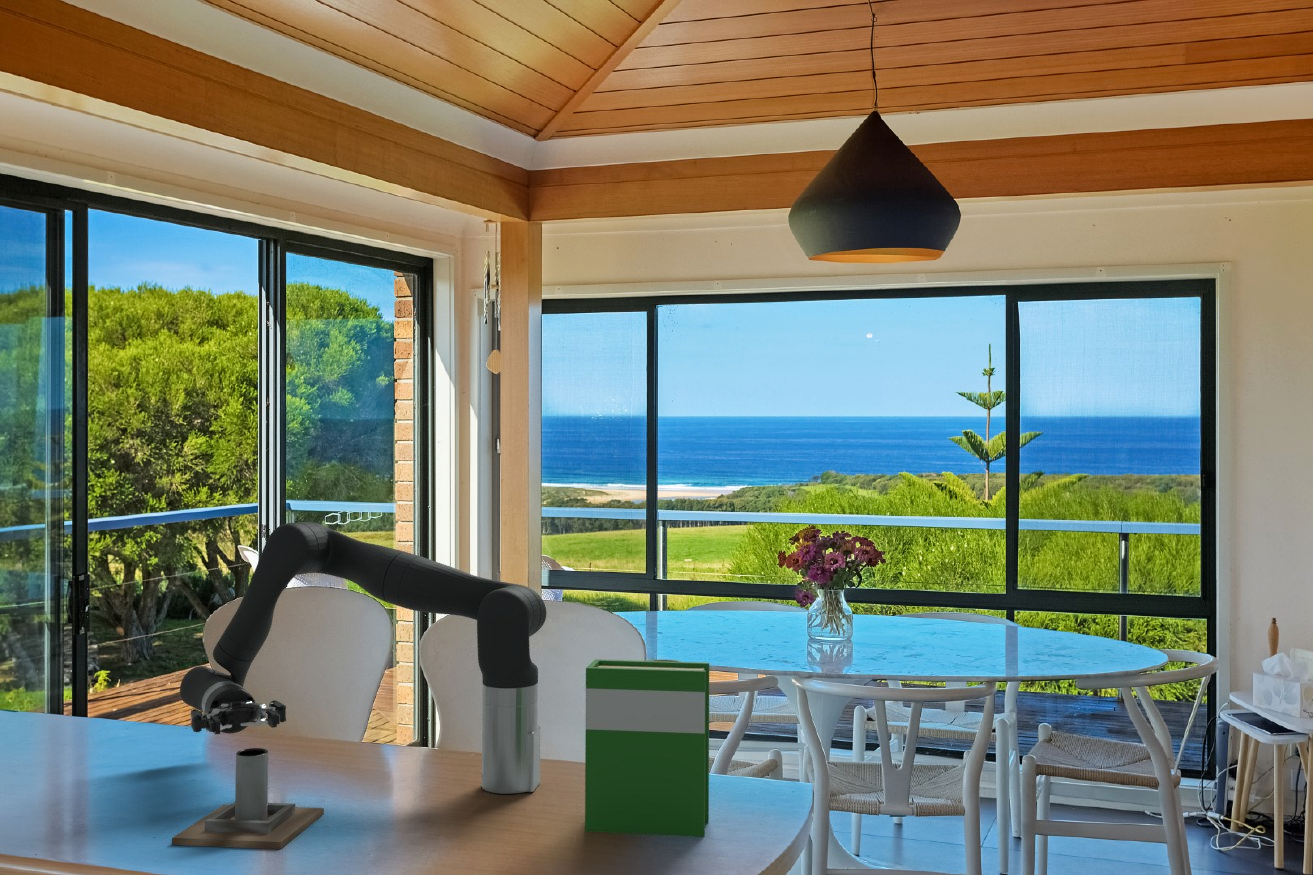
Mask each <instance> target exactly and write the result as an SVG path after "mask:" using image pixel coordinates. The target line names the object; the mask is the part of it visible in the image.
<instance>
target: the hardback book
mask: <svg viewBox="0 0 1313 875" xmlns="http://www.w3.org/2000/svg"><path fill="white" fill-rule="evenodd" d="M584 737H585V740H584V742H585V744H584V746H585V748H584V749H585V750H584V752H585V760H584V762H585V764H584V765H585V768H584V775H585V776H584V778H585V779H584V781H585V782H584V783H585V784H584V795H585V796H584V832H591V833H593V832H594V833H612V834H631V835H632V834H635V835H636V834H637V835H651V836H652V835H653V836H654V835H656V836H674V837H675V836H676V837H677V836H678V837H696V838H697V837H698V838H699V837H701V838H705V835H706V824H709V821H710V820H709V819H710V818H709V816H710V814H709V810H710V808H709V807H710V800H709V799H710V774H709V773H710V662H699V661H697V662H696V661H681V662H668V661H647V660H631V659H630V660H629V659H628V660H624V659H623V660H622V659H594V660H592V662H590V664H588V665H587V666H586V667H585V736H584Z"/></svg>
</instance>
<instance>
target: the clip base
mask: <svg viewBox="0 0 1313 875" xmlns="http://www.w3.org/2000/svg"><path fill="white" fill-rule="evenodd" d="M324 814H325V808H324V807H306V806H303V807H302V806H296V803H289V802H288V803H284V802H283V803H282V802H281V803H280V802H268V813H267V820H265V821H256V820H235V801H233V802H232V803H229V804H222V805H221V806H220V807H218V808H216V809H215V810H213V811H211V812H210V813H208V814H206V815H205V816H203V817H202V818H201V819H199V820H197V821H196V822H194V823H193V824H191V825H189V826H188V827H187V828H185V829H183V830H182V831H180V832H178V833H177V834H176V835H174V836H173V837H171V846H186V847H187V846H191V847H216V848H241V849H242V848H245V849H269V850H270V849H271V850H283V848H284V847H286V846H287V845H288V844H289V843H291V842H292V841H293V840H294V839H296V838H297V837H298V836H299V835H301V833H303V832H304V831H306V830H307V829H308V828H309V827H310V826H311V825H313V824H314V823H315V822H316V821H318V820H319V819H320V818H321V817H323V816H324Z"/></svg>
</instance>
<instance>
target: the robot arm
mask: <svg viewBox="0 0 1313 875" xmlns="http://www.w3.org/2000/svg"><path fill="white" fill-rule="evenodd" d="M266 540H267V541H266V542H265V545H264V547H263V549H262V552H261V554H260V557H259V559H258V562H257V565H256V567H255V568H254V572H253V574H252V576H251V579H250V582H249V584H248V586H247V588H246V591H245V594H244V596H243V598H242V600H241V601H240V603H239V606H238V607H237V609H236V611H235V613H234V614H233V617H232V618H231V620H230V622H229V623H228V625H227V627H226V628H225V629H224V631H223V632H222V634H221V636H220V638H219V640H218V642H216V644H215V646H214V648H213V651H212V657H213V660H214V661H215V662H216V663H217V665H219V667H221V668H223V669H224V670H225V671H227V672H228V673H229V674H227V673H224V672H220V671H218V670H216V669H213V668H211V667H207V666H203V665H198V666H194V667H192V668H191V669H190V670H188V671H187V672H186V673H185V674H184V676H183V678H182V680H181V682H180V684H179V685H180V687H179V695H180V699H181V700H182V702H183V704H186V705H187V706H189V707H192V708H193V709H191V710H190V727H191V729H192V731H193V732H194V733H201V732H202V729H205V731H206V732H209V733H213V734H214V735H221V733H222V734H229V735H231V734H237V733H241V732H242V731H243V730H245V729H247V727H249V726H253V727H254V726H256V727H260V726H263V725H268V726H269V727H270V728H272V729H275V728H277V727H278V725H280V724H281V723H285V722H287V712H286V711H287V710H286V709H287V705H285V704H284V703H282V702H281V701H278V700H275V699H274V700H270V701H269V703H268V704H269V705H267V706H266V703H262V702H256V701H255V699H254V697H253V695H252V694H251V693H249V691H247V690H246V689H245V688H244V685H245V681H246V677H247V674H248V672H249V670H250V667H251V665H252V663H253V661H254V660H255V659H256V657H257V655H258V653H259V652H260V650H261V648H262V647H263V645H264V643H265V642H266V639H267V637H268V636H269V634H270V631H271V628H272V625H273V618H274V614H275V613H274V612H275V608H276V606H277V602H278V600H279V598H280V596H281V594H282V592H284V590H285V588H286V587H287V586H288V584H290V582H291V581H292V580H293V579H294V578H295V577H296V576H297V575H298V576H299V575H304V574H305V575H306V574H323V575H328V576H332V577H337V578H341V579H344V580H348V581H349V582H352V583H354V584H356V585H357V586H358V587H360V588H361V589H363V590H364V591H365V593H366V592H367V593H368V594H370V595H371V597H373V598H376V599H378V600H380V601H383V602H385V603H387V604H392V605H394V606H398V607H400V608H403V609H407V610H411V611H416V612H423V613H431V614H438V615H450V616H451V615H452V616H457V617H460V616H461V617H464V618H469V619H472V620H475V621H476V638H477V662H478V667H479V670H480V671H481V674H482V675H481V676H482V680H481V681H482V686H481V687H482V691H481V692H482V699H481V700H482V702H481V704H482V706H481V711H482V713H481V718H482V719H481V720H482V721H481V788H482V790H484V791H486V792H488V793H494V794H504V795H505V794H507V795H508V794H521V793H526V792H527V793H533V792H534V791H535V790H536V789H537V787H538V786H539V785H540V783H541V726H540V725H539V722H538V721H539V719H538V718H539V716H538V715H539V711H538V710H539V709H538V708H539V706H538V705H539V694H538V693H539V669H538V667H537V665H536V664H535V663H533V661H532V659H531V654H530V637H532V636H533V635H534V634H536V633H537V632H539V631H540V630H541V628H543V626H544V624H545V622H546V620H547V607H546V604H545V601H544V600H543V598H542V597H541V596H540V594H538V592H536V591H535V590H534V589H532V588H531V587H529V586H526V585H522V584H518V583H512V582H505V581H501V580H495V579H489V578H486V577H480V576H477V575H474V574H471V573H468V572H465V571H463V570H460V569H457V568H455V567H452V566H450V565H448V564H447V565H446V564H444V563H441V562H438V561H436V560H432V559H429V558H427V557H424V556H421V555H417V554H413V553H410V552H407V551H403V550H400V549H396V548H392V547H388V546H384V545H379V544H375V543H369V542H364V541H361V540H358V539H355V538H353V537H351V536H348V535H346V534H344V533H342V532H339V531H337V530H334V529H332V528H330V527H328V526H326V525H323V524H320V523H318V522H313V521H300V522H299V521H297V522H287V523H283V524H281V525H279V526H277V527H276V528H275V529H273V531H272V532H271V533H270V534H269V536H268V538H267V539H266ZM266 714H267V717H266Z"/></svg>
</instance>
